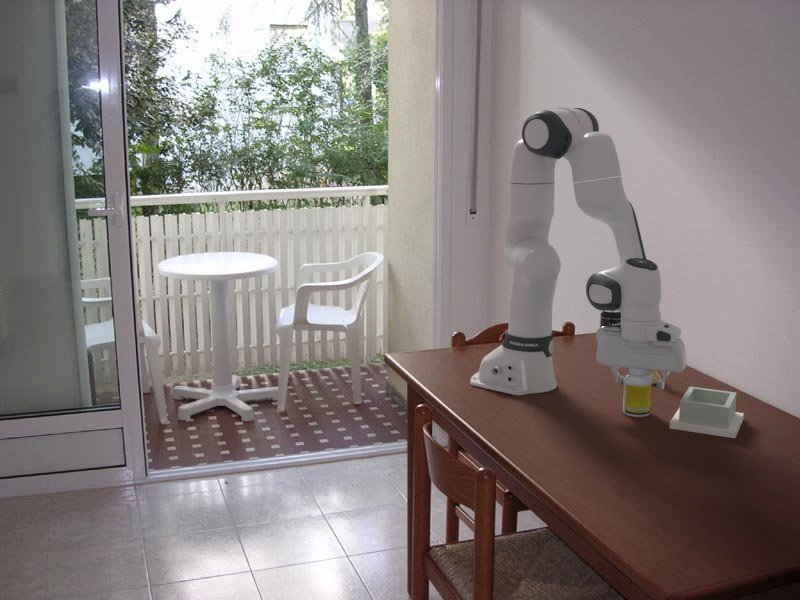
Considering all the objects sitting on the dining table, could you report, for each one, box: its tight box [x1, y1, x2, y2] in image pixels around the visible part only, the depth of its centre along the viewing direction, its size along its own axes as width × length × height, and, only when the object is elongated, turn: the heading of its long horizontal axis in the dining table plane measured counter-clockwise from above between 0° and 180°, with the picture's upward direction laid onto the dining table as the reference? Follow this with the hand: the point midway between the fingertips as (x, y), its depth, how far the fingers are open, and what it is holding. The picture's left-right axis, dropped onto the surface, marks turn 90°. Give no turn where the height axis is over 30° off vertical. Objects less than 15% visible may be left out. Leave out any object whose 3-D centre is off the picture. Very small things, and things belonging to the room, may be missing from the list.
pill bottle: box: [622, 368, 653, 418], centre depth 207 cm, size 6×6×12 cm
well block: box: [669, 386, 745, 439], centre depth 200 cm, size 14×13×6 cm
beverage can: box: [599, 310, 621, 328], centre depth 261 cm, size 7×7×12 cm
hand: (639, 386), depth 206 cm, fingers open, 8 cm apart
